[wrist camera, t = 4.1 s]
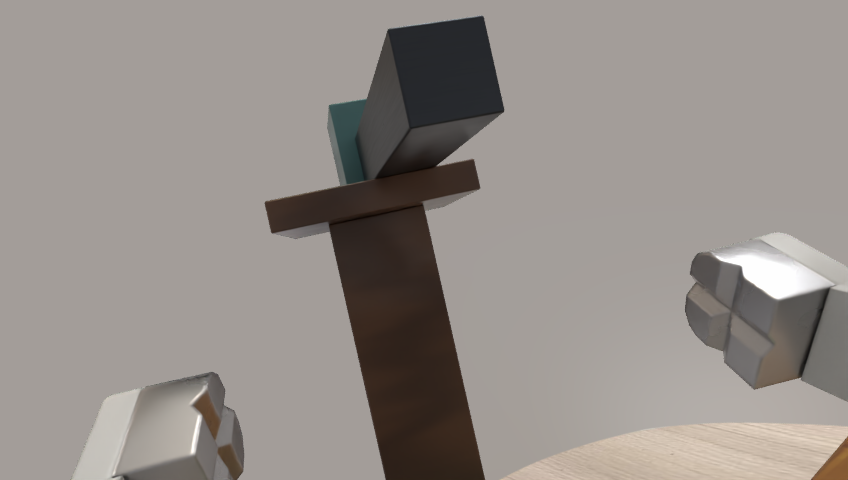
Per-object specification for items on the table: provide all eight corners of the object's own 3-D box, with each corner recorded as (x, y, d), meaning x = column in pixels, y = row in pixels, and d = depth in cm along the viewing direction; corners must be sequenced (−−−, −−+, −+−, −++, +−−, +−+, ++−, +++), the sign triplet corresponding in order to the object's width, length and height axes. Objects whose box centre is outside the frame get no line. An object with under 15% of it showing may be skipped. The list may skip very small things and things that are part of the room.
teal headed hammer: (376, 134, 15) (338, -37, 15) (344, 203, 34) (327, 127, 34) (536, 106, 16) (500, -55, 16) (419, 188, 35) (402, 113, 35)
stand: (368, 785, 23) (237, 203, 23) (363, 604, 35) (276, 220, 35) (620, 693, 25) (499, 150, 25) (533, 550, 37) (451, 183, 36)
